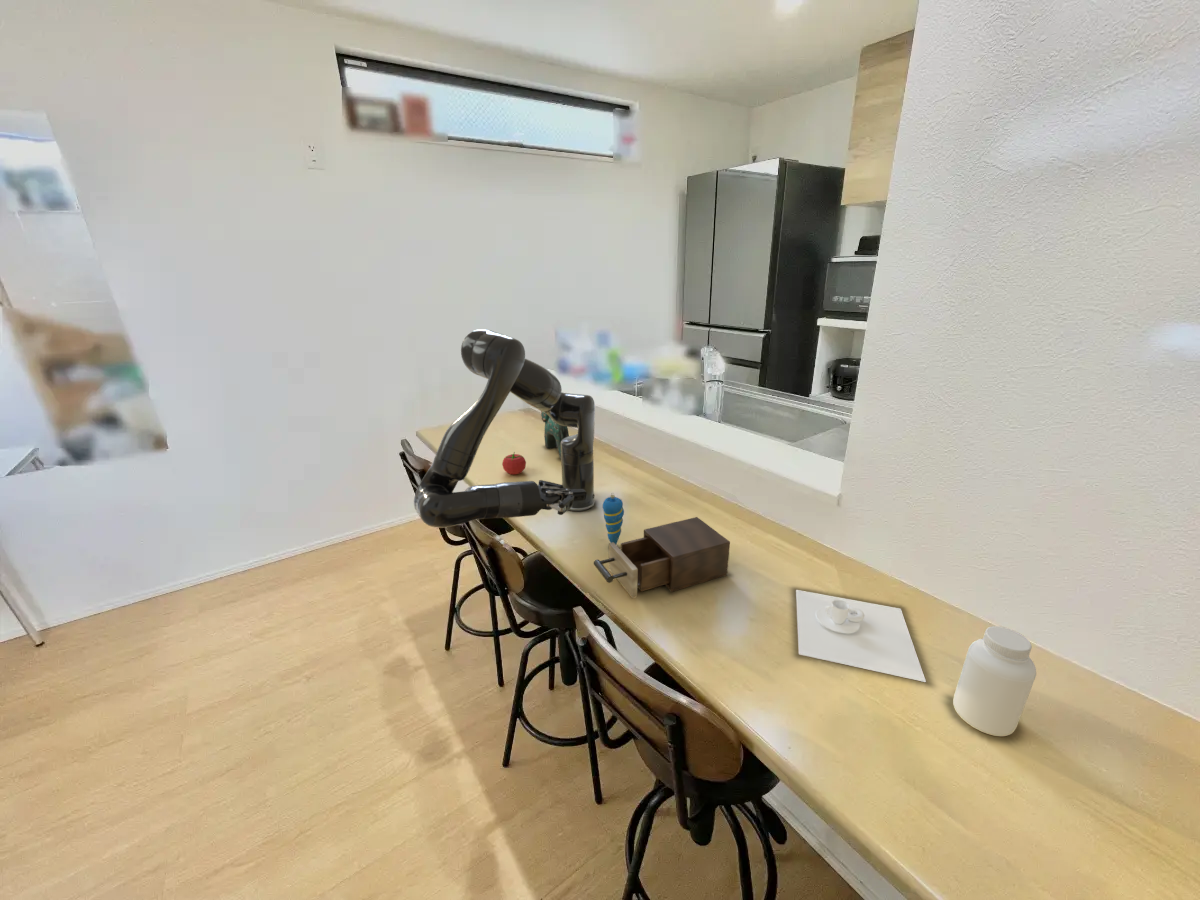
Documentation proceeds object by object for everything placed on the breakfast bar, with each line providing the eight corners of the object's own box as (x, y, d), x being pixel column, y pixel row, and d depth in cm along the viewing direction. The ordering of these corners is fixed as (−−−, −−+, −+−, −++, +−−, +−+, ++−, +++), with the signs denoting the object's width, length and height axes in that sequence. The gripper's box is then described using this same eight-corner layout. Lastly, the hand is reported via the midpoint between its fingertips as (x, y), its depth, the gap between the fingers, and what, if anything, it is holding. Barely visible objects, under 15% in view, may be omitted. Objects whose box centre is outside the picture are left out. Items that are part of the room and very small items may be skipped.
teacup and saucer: (861, 613, 99) (865, 596, 97) (867, 640, 92) (871, 622, 90) (814, 604, 101) (817, 588, 100) (816, 630, 94) (819, 612, 93)
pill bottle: (939, 696, 80) (962, 621, 74) (985, 692, 80) (1011, 617, 75) (978, 740, 72) (1007, 660, 67) (1029, 736, 73) (1061, 656, 68)
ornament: (621, 554, 120) (622, 498, 115) (601, 552, 121) (600, 497, 116) (625, 543, 125) (625, 489, 119) (605, 541, 126) (604, 488, 120)
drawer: (611, 604, 101) (611, 575, 98) (589, 574, 111) (589, 547, 108) (687, 581, 108) (688, 554, 105) (660, 555, 118) (661, 530, 115)
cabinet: (671, 592, 106) (673, 557, 103) (642, 561, 117) (643, 529, 114) (727, 575, 111) (730, 541, 108) (694, 548, 122) (696, 516, 119)
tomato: (524, 477, 164) (522, 456, 161) (501, 477, 164) (499, 456, 162) (528, 468, 171) (526, 448, 169) (505, 468, 172) (504, 448, 169)
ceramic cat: (541, 445, 194) (538, 396, 187) (556, 443, 196) (554, 394, 189) (558, 462, 177) (556, 408, 170) (575, 459, 179) (573, 406, 172)
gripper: (528, 498, 99) (601, 492, 108) (505, 470, 109) (574, 467, 118) (523, 530, 101) (595, 522, 110) (501, 500, 111) (569, 495, 120)
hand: (584, 494), depth 114 cm, fingers closed
